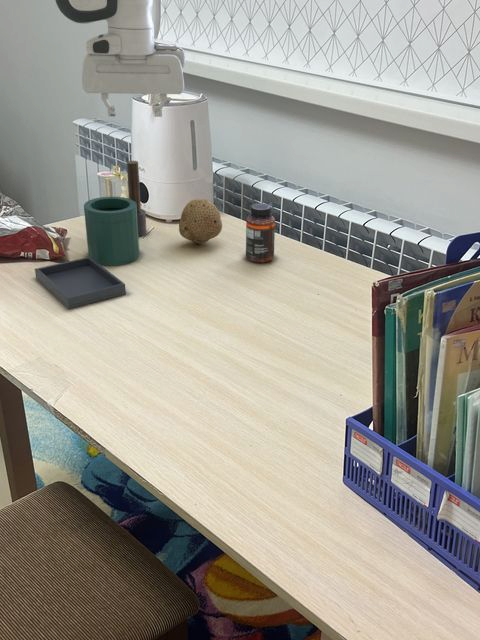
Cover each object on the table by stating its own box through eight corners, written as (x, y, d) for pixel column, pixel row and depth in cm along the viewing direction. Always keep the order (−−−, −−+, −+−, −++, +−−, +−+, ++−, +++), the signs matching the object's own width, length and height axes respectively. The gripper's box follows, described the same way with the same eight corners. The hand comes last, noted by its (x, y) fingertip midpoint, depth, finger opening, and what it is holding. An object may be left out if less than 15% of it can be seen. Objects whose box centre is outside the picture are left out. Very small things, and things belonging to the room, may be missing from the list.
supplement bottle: (268, 251, 149) (270, 200, 143) (277, 262, 144) (280, 209, 138) (241, 254, 147) (243, 202, 141) (250, 265, 142) (251, 211, 136)
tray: (36, 278, 132) (34, 268, 131) (90, 266, 138) (89, 256, 137) (68, 309, 122) (67, 298, 121) (126, 294, 128) (125, 283, 127)
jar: (80, 252, 144) (75, 201, 139) (124, 243, 150) (121, 193, 144) (102, 269, 137) (97, 216, 132) (147, 258, 143) (145, 207, 137)
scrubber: (123, 232, 155) (118, 161, 147) (140, 228, 158) (136, 158, 149) (132, 238, 152) (128, 166, 144) (150, 234, 155) (146, 163, 146)
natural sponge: (230, 243, 152) (231, 199, 147) (204, 255, 145) (204, 209, 140) (199, 233, 156) (199, 190, 151) (172, 244, 150) (171, 199, 145)
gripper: (183, 42, 140) (184, 113, 147) (79, 39, 136) (85, 112, 143) (186, 46, 135) (187, 119, 142) (78, 43, 131) (84, 119, 138)
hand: (135, 116), depth 142 cm, fingers open, 8 cm apart
